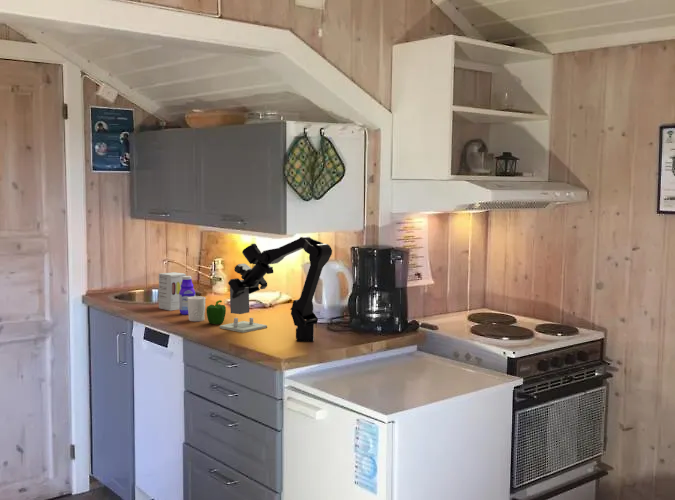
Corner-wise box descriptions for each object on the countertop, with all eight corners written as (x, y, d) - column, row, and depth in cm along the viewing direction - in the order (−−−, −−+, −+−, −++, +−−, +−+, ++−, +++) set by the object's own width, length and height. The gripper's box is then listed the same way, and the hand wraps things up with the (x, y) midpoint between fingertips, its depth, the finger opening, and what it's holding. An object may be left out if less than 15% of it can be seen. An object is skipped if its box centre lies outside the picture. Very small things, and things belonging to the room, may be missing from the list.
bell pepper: (208, 326, 314) (208, 302, 313) (204, 322, 322) (204, 299, 321) (228, 324, 317) (228, 301, 316) (223, 321, 325) (223, 298, 324)
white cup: (197, 322, 321) (197, 299, 320) (183, 320, 325) (183, 298, 324) (209, 319, 328) (209, 297, 327) (195, 317, 332) (195, 295, 331)
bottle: (180, 315, 336) (180, 277, 335) (178, 313, 341) (178, 275, 340) (196, 314, 339) (196, 276, 338) (193, 312, 344) (193, 275, 343)
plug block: (249, 312, 309) (248, 280, 308) (240, 314, 305) (239, 281, 304) (239, 311, 313) (238, 279, 312) (230, 313, 308) (229, 280, 307)
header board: (267, 327, 313) (267, 319, 312) (243, 332, 302) (243, 324, 301) (243, 323, 321) (243, 315, 321) (219, 327, 310) (219, 319, 310)
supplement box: (170, 311, 347) (170, 275, 345) (158, 308, 353) (157, 273, 351) (186, 308, 354) (186, 273, 353) (174, 306, 360) (173, 271, 358)
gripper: (261, 255, 312) (242, 279, 319) (231, 259, 297) (211, 284, 304) (276, 275, 308) (256, 299, 316) (246, 280, 293) (225, 305, 300)
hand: (237, 296), depth 309 cm, fingers closed on plug block, 5 cm apart
